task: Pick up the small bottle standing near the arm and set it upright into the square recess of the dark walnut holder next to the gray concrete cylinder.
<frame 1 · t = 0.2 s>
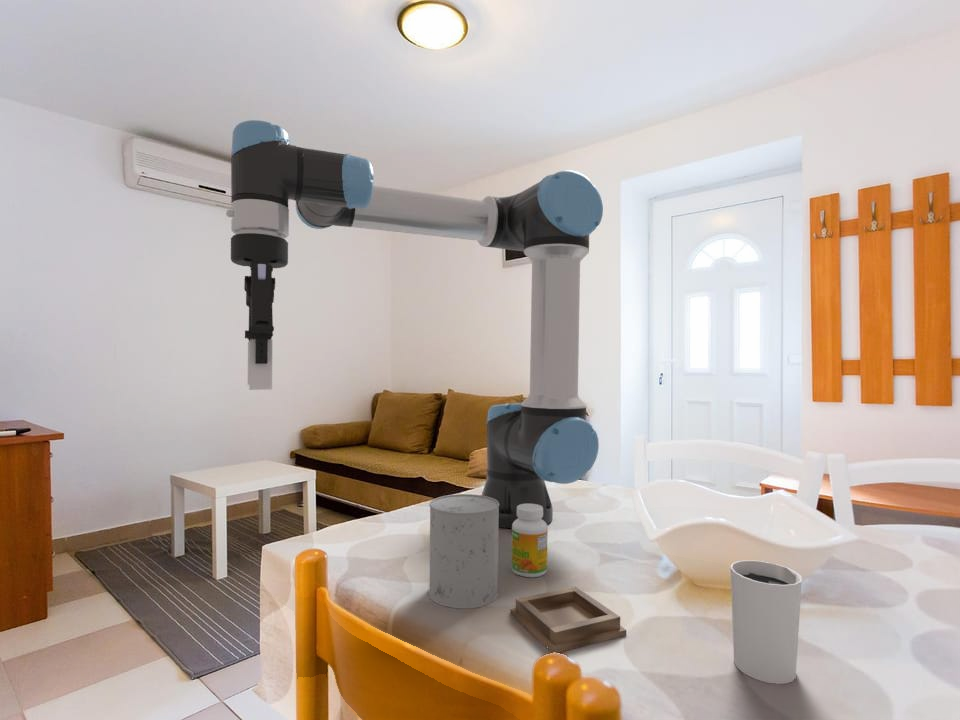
hand: (258, 387, 76), 28 cm above the table, tool pointing down, fingers open, 13 cm apart
supplement bottle: (529, 572, 81), on the table
white cup: (764, 669, 56), on the table
gray concrete cylinder: (463, 593, 73), on the table
walnut holder: (566, 623, 65), on the table
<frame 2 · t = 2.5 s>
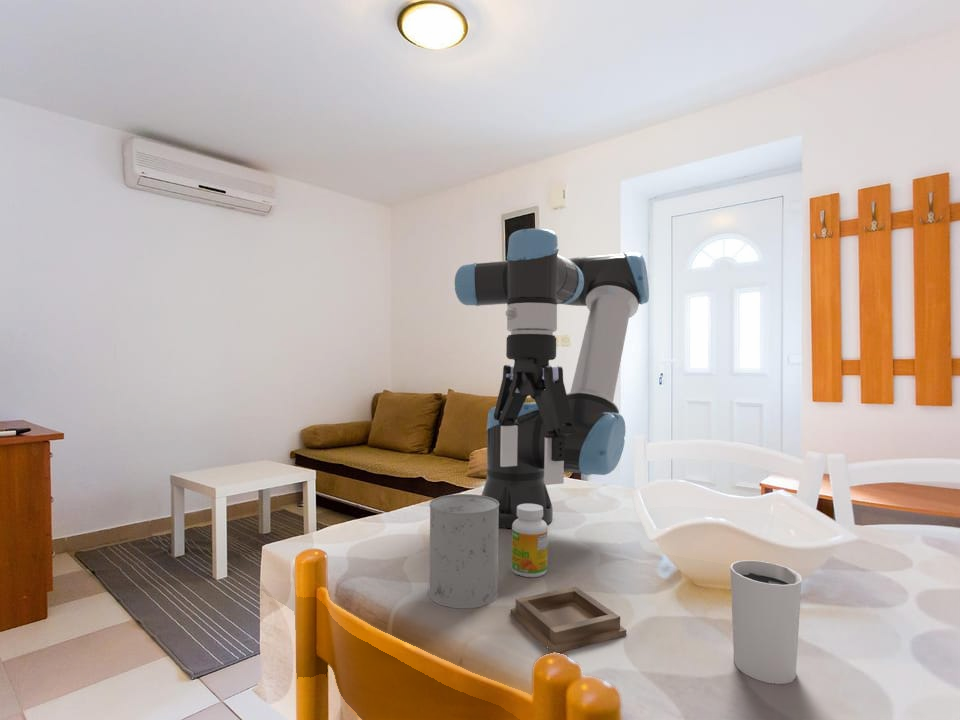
hand: (529, 474, 81), 15 cm above the table, tool pointing down, fingers open, 13 cm apart
nothing on the table moved.
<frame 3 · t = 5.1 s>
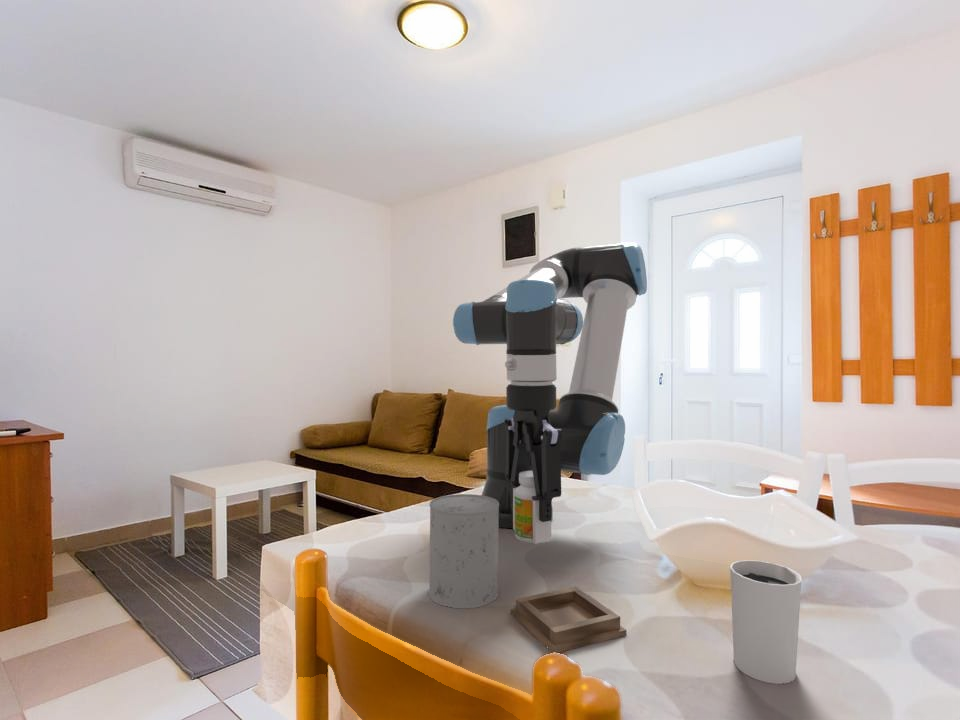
hand: (531, 534, 82), 5 cm above the table, tool pointing down, fingers closed on supplement bottle, 5 cm apart
supplement bottle: (532, 537, 82), point 5 cm above the table, touching gripper
everything else where it was.
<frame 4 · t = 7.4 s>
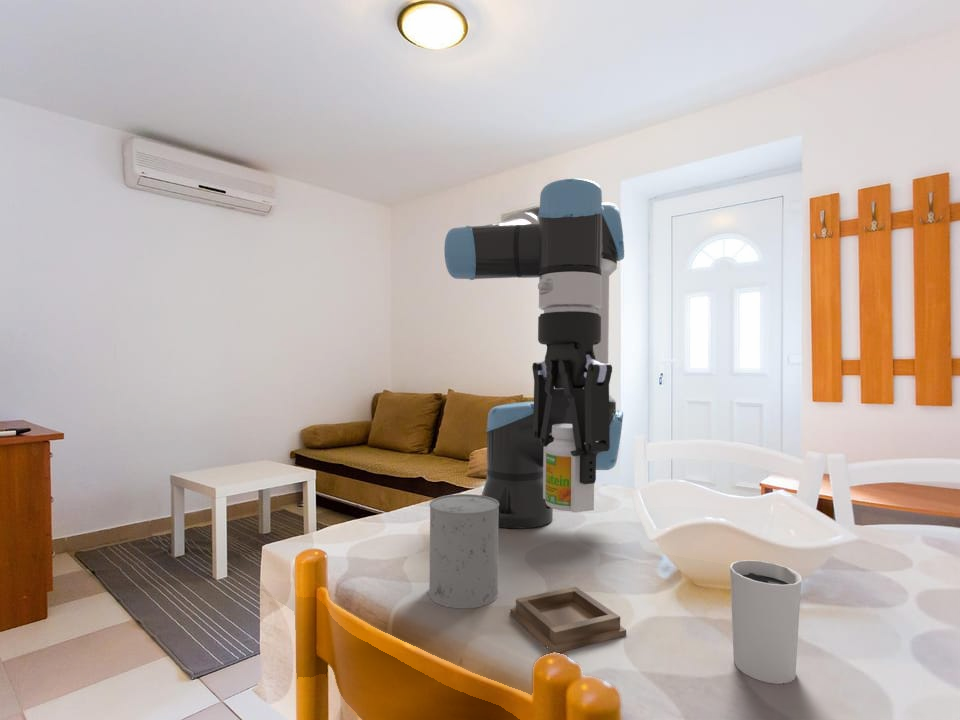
hand: (567, 503, 65), 15 cm above the table, tool pointing down, fingers closed on supplement bottle, 5 cm apart
supplement bottle: (567, 507, 65), point 14 cm above the table, touching gripper
everything else where it was.
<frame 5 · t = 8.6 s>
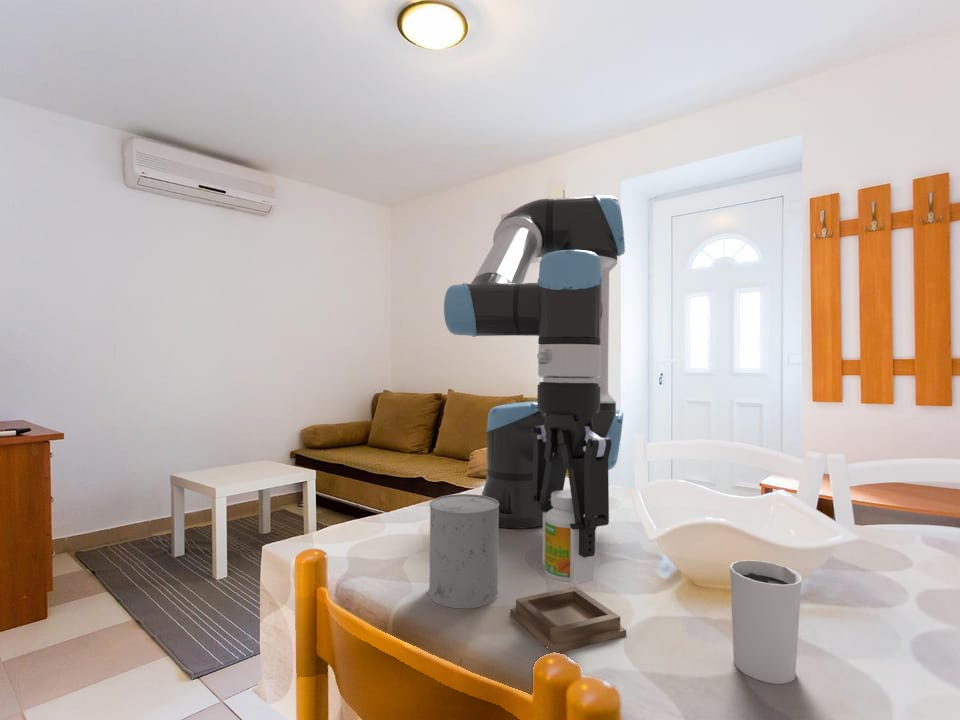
hand: (566, 572, 65), 6 cm above the table, tool pointing down, fingers closed on supplement bottle, 5 cm apart
supplement bottle: (566, 575, 65), point 6 cm above the table, touching gripper
everything else where it was.
when the fingers open (3 cm above the table, at t = 9.6 s): supplement bottle drops 2 cm, resting on walnut holder.
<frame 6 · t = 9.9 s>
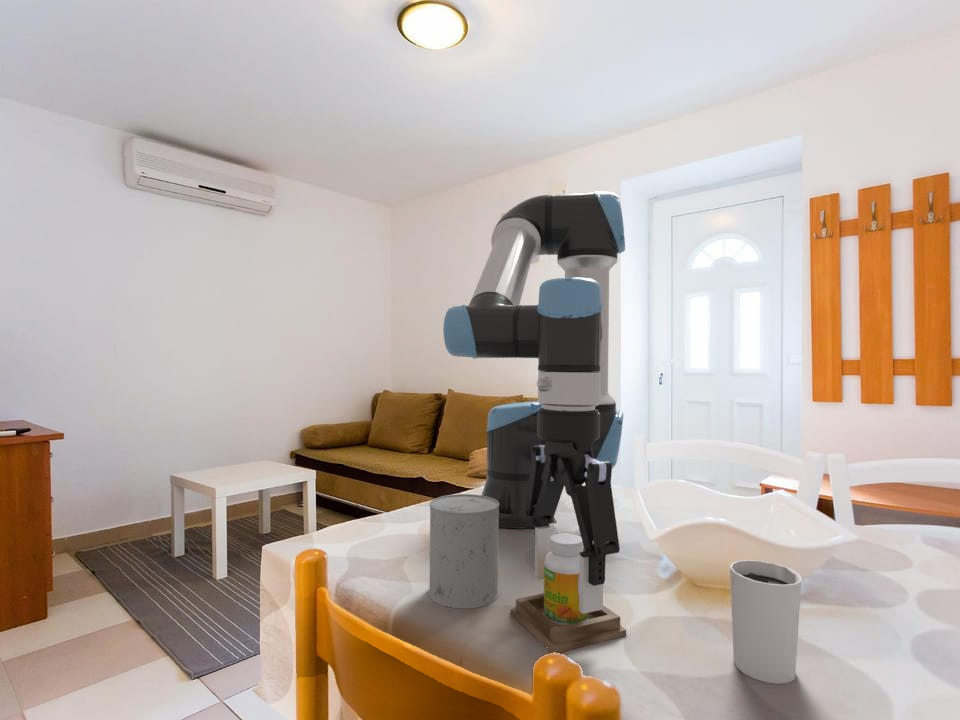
hand: (566, 592, 65), 4 cm above the table, tool pointing down, fingers open, 9 cm apart
supplement bottle: (565, 619, 65), resting on walnut holder
everything else where it was.
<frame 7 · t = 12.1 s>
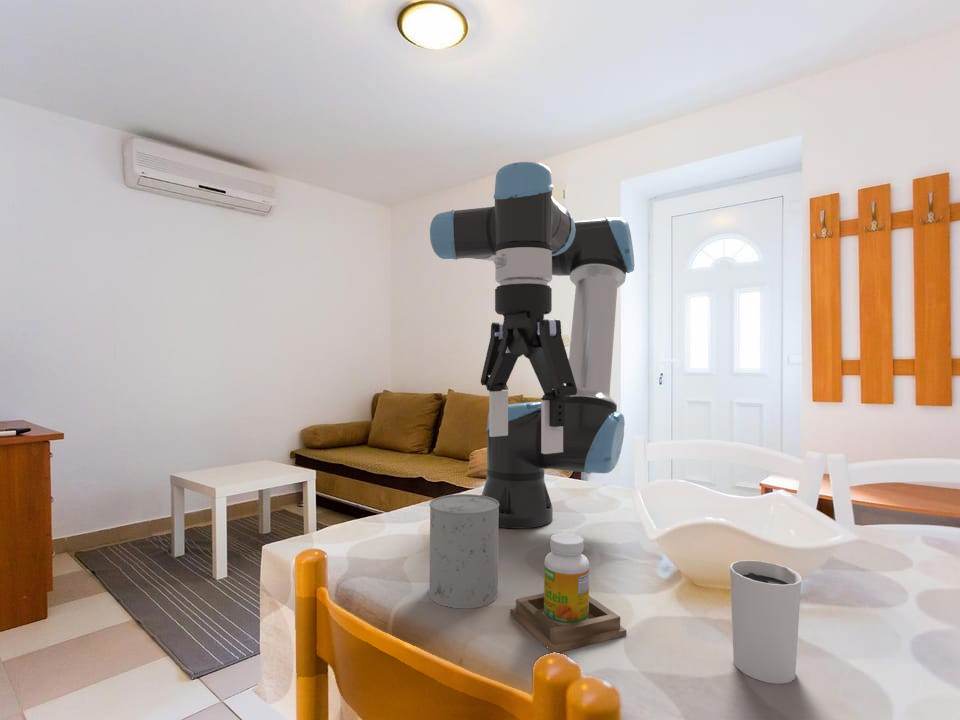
hand: (523, 443, 72), 21 cm above the table, tool pointing down, fingers open, 13 cm apart
nothing on the table moved.
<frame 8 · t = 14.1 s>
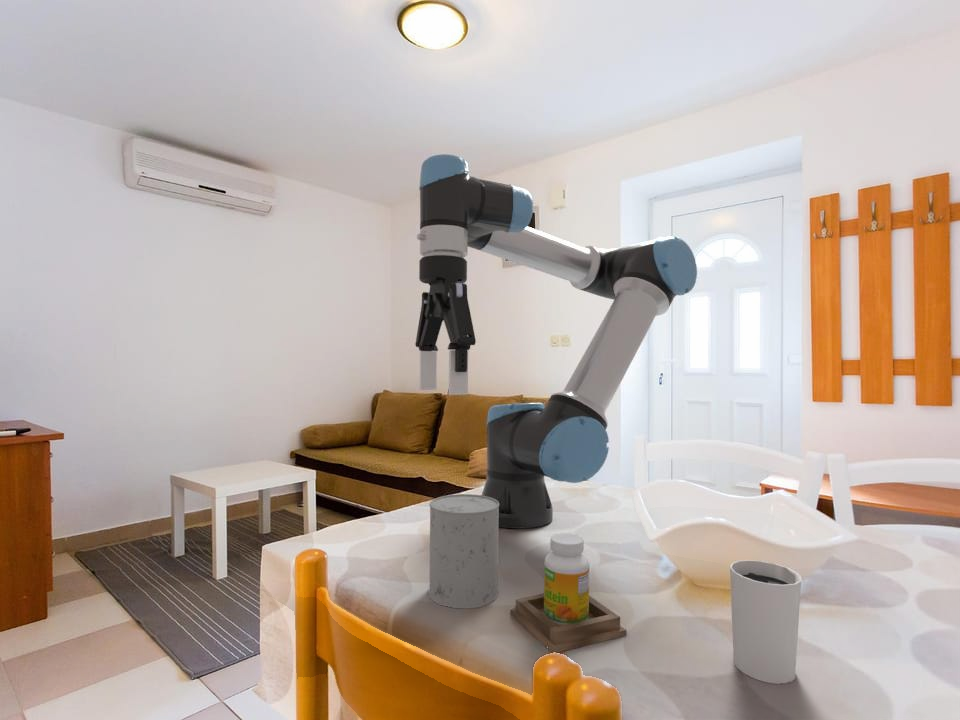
hand: (442, 392, 85), 27 cm above the table, tool pointing down, fingers open, 13 cm apart
nothing on the table moved.
at the end: supplement bottle 0.2 cm off-centre on the walnut holder, point 0.4 cm above the walnut holder's base; supplement bottle tilted 0°; the gripper is holding nothing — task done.
